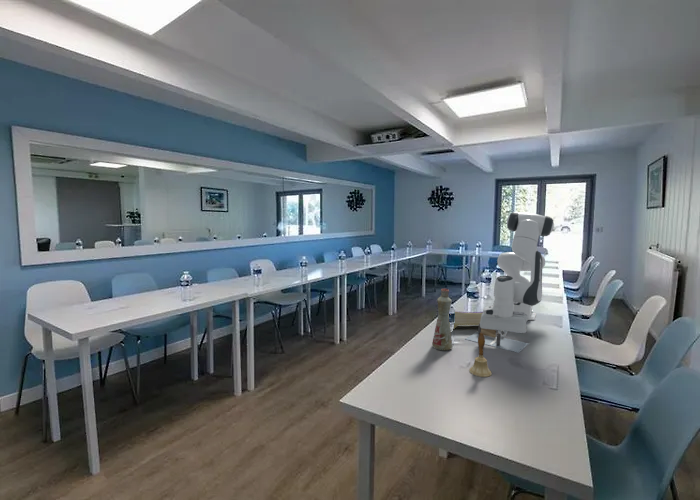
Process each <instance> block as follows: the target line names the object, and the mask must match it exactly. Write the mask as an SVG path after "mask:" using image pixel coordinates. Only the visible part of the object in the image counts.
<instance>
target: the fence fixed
mask: <svg viewBox="0 0 700 500" xmlns="http://www.w3.org/2000/svg"><path fill="white" fill-rule="evenodd" d="M477 326H478V327H477V328H478V329H477V332H478V334H480V332H482V333H483V334H484V335H487V336H491V337H496V336H497V334H498V330H492V329H483V328H481V327H480V323H479V325H477Z"/></svg>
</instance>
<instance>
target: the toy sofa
mask: <svg viewBox="0 0 700 500" xmlns="http://www.w3.org/2000/svg"><path fill="white" fill-rule="evenodd" d="M482 313H483V311H472V312H471V311H458V310H455V323H454V330H455V328H457V327H458V326H479V323H480V320H481V316H482Z"/></svg>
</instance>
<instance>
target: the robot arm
mask: <svg viewBox="0 0 700 500" xmlns="http://www.w3.org/2000/svg"><path fill="white" fill-rule="evenodd" d="M506 226H507V229H508V230H509V231H511V232H514V235H513V238H512V242H511V250H512V251H506V252H502V253H500V254H499V255H498V257H497V260H496V261H497V266H498V267H499V268H500V270H502V271H503V272H504V273H505V275H500V276H497V277H496V278H495V281H494V286H493V287H494V288H493V297H494V299H493V305H488V306H484V307H483V309H482V312H483V313H482V316H481V320H480V327H481V328H483V329H492V330H496V331H497V330H498V333H499V334H501V336H500V339H501V340H504V338H506V335H507V334H508V332H509V333H510V332H511V333H519V334H520V333H521V334H525V333H526V332H527V322H528V321H535V320H536V318H537V317H536V316H537V313H536V312H534V311H533V306H536V305H538V304H540V303H541V301H542V300H543V299H542V298H543V286H542V284H543V283H542V280H543V269H544V268H545V265H546V259H545V257H544V255H543V254H542V253H541V252H540V251H539V250H538V243H539V237H548V236H550V235H551V233H552V232H553V230H554V228H555V223H554V219H553V218H552V217H551V216H547V215H541V214H538V213H531V212H520V211H513V212H511V213H510V214H509V215H508V217H507V219H506ZM520 272H530V280H529V279H527V278H526V277H524V276H522V275H521V274H520ZM502 332H503V334H502Z"/></svg>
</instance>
